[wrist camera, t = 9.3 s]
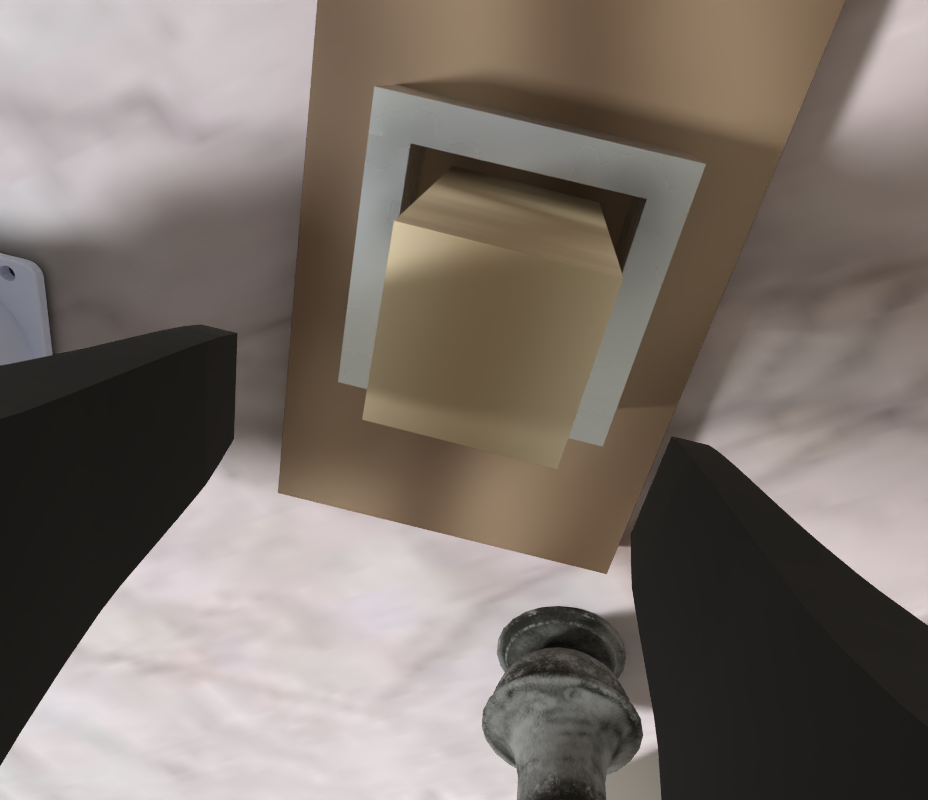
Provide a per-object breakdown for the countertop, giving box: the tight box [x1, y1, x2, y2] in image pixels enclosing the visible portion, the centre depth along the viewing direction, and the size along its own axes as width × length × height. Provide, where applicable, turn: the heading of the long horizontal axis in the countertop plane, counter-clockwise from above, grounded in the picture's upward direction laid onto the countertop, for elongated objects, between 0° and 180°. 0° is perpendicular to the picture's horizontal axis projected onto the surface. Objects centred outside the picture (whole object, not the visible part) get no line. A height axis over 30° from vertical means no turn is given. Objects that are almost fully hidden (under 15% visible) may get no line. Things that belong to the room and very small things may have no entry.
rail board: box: [278, 0, 845, 574], centre depth 19 cm, size 12×20×2 cm, turn 168°
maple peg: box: [362, 166, 623, 469], centre depth 15 cm, size 4×4×7 cm
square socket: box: [338, 84, 706, 446], centre depth 17 cm, size 8×8×2 cm
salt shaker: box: [482, 606, 643, 800], centre depth 22 cm, size 6×6×12 cm
